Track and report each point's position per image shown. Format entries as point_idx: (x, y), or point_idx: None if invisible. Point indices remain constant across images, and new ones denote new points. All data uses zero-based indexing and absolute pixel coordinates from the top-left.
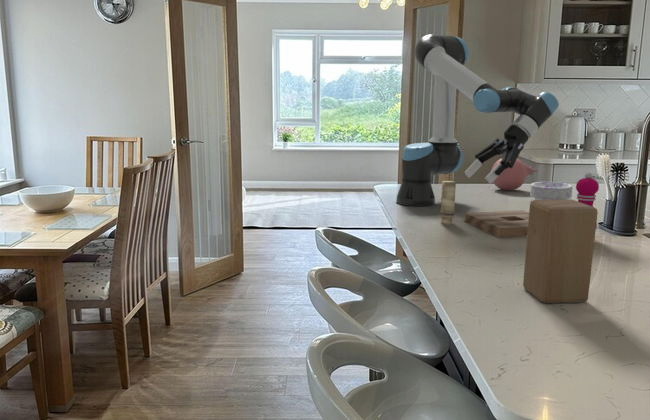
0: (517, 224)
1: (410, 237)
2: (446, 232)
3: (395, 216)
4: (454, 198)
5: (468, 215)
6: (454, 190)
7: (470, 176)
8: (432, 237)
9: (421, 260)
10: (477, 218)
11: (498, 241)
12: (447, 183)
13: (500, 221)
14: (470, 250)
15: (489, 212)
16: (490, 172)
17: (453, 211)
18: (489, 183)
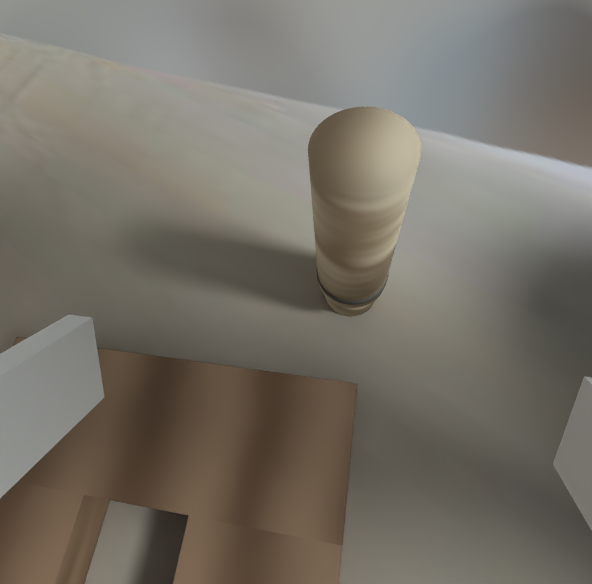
0: None
1: (215, 95)
2: (216, 214)
3: (540, 163)
4: (321, 245)
5: (313, 378)
6: (315, 208)
7: (565, 474)
8: (183, 146)
9: (33, 48)
10: (217, 364)
11: (18, 310)
12: (323, 123)
13: (103, 434)
14: (11, 172)
15: (320, 556)
16: (10, 362)
17: (321, 279)
18: (101, 392)
